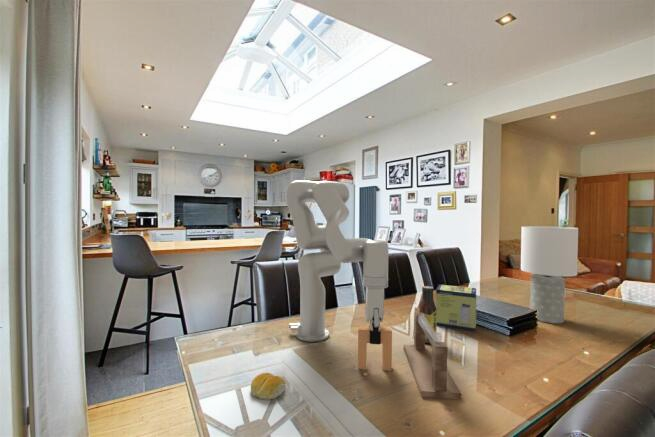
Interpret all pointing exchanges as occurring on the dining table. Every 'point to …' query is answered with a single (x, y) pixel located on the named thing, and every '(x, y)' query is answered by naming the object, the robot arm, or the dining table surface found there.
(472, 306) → the protein box
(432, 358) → the rail stand
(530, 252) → the lamp
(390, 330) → the wooden arch block
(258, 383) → the bread roll
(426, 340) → the sauce bottle
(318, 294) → the robot arm
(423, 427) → the dining table surface
